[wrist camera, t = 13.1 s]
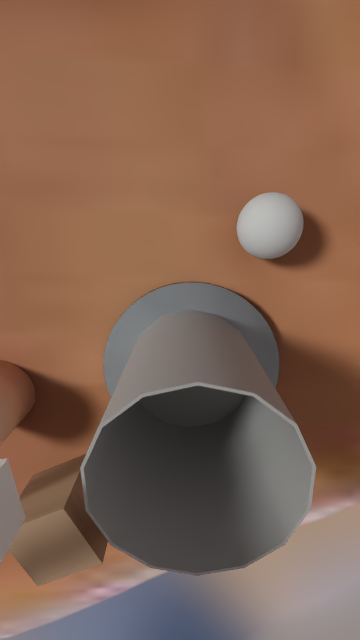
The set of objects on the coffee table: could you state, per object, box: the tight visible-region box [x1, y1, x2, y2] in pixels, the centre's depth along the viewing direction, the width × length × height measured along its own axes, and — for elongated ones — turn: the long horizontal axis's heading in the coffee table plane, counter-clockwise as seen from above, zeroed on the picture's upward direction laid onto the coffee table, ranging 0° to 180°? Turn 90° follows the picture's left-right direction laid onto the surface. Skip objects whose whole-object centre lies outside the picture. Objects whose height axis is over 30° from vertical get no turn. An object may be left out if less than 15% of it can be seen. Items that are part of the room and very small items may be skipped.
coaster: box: [103, 282, 280, 397], centre depth 21 cm, size 12×12×1 cm
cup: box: [80, 309, 316, 576], centre depth 15 cm, size 8×8×10 cm
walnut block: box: [8, 454, 108, 586], centre depth 22 cm, size 5×5×5 cm
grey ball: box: [237, 192, 303, 259], centre depth 17 cm, size 4×4×4 cm
